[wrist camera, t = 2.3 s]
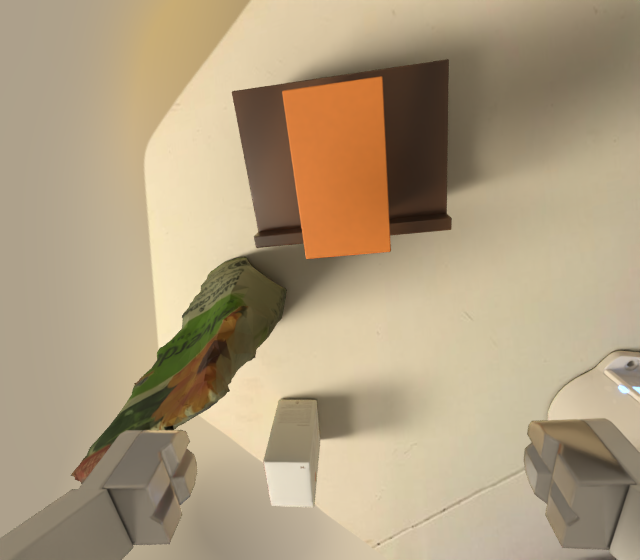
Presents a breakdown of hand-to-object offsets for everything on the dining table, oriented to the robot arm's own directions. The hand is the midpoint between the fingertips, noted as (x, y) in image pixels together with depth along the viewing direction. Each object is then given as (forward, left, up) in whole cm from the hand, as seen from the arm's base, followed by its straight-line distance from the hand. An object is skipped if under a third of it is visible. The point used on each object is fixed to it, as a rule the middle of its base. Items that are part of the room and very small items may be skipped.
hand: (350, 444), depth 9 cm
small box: (+10, +31, -34) cm, 47 cm away
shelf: (0, -5, -34) cm, 34 cm away
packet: (0, -5, -24) cm, 24 cm away
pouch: (+14, +10, -34) cm, 38 cm away
